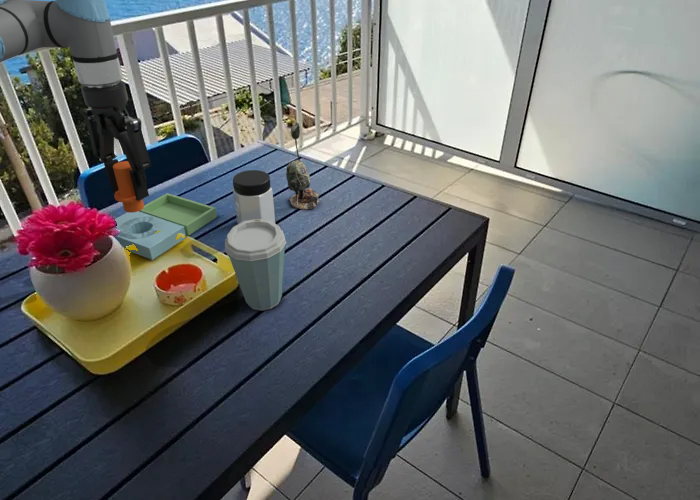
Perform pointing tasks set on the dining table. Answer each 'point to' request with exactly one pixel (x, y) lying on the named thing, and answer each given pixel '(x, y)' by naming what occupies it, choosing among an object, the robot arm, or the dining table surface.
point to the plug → (126, 188)
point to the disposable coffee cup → (258, 261)
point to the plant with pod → (300, 179)
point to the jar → (253, 196)
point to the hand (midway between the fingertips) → (130, 193)
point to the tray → (181, 212)
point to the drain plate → (147, 233)
